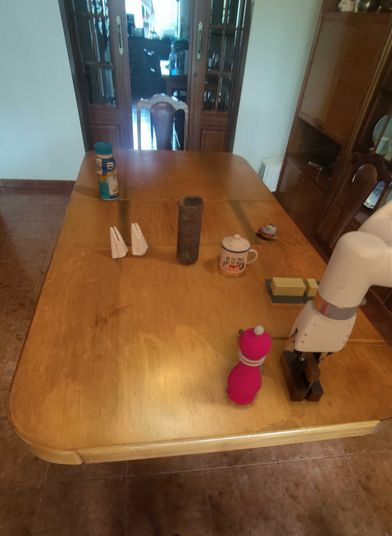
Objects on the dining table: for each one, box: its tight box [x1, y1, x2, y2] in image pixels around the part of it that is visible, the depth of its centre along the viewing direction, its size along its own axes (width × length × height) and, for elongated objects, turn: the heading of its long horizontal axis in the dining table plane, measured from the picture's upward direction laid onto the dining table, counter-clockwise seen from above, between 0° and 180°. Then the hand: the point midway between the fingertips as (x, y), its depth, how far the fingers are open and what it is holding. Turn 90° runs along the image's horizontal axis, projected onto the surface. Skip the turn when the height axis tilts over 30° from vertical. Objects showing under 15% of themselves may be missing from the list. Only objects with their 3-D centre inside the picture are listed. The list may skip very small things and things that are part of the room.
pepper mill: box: [226, 324, 273, 406], centre depth 63 cm, size 7×7×20 cm
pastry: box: [257, 222, 279, 241], centre depth 120 cm, size 8×8×5 cm
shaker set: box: [109, 222, 149, 259], centre depth 102 cm, size 12×4×11 cm, turn 99°
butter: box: [270, 276, 306, 296], centre depth 94 cm, size 9×5×3 cm, turn 92°
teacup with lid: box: [218, 233, 258, 274], centre depth 100 cm, size 12×9×12 cm
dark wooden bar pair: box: [279, 350, 324, 403], centre depth 72 cm, size 6×12×4 cm, turn 2°
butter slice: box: [304, 278, 318, 296], centre depth 95 cm, size 2×5×3 cm, turn 2°
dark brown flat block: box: [295, 352, 322, 392], centre depth 71 cm, size 2×10×8 cm, turn 2°
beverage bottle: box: [93, 141, 120, 201], centre depth 130 cm, size 8×8×20 cm
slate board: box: [264, 278, 321, 305], centre depth 96 cm, size 18×12×1 cm, turn 92°
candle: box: [175, 194, 205, 264], centre depth 99 cm, size 8×7×20 cm
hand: (303, 367), depth 70 cm, fingers closed on dark brown flat block, 2 cm apart
